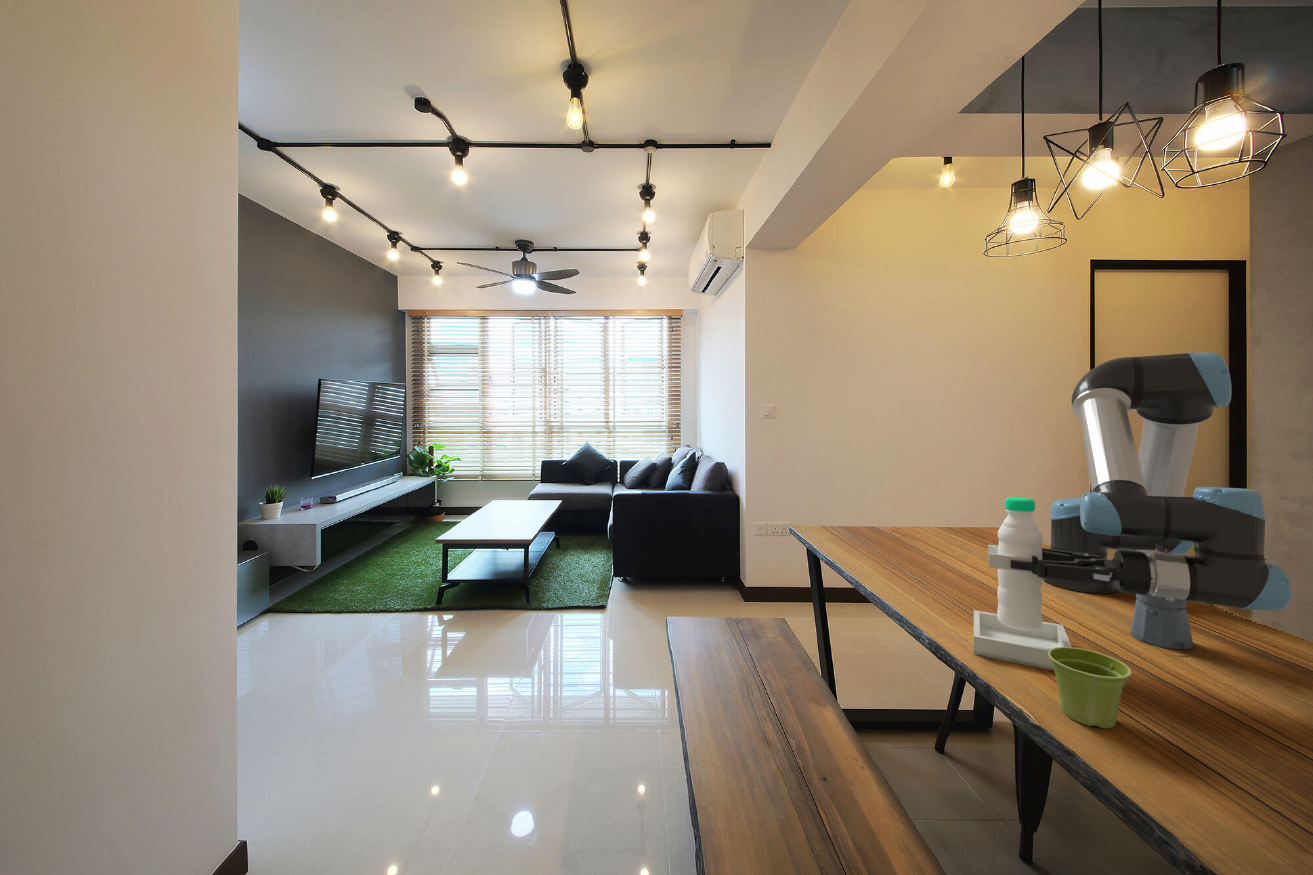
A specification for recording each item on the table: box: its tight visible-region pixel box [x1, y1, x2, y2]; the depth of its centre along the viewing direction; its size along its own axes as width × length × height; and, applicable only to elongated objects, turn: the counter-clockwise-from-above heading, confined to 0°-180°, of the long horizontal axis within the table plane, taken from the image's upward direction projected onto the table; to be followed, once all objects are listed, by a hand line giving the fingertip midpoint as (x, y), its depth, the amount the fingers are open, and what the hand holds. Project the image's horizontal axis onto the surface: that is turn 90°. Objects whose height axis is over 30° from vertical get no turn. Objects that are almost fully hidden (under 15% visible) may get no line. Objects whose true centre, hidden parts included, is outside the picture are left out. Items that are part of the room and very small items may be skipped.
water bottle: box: [996, 496, 1043, 631], centre depth 95 cm, size 7×7×25 cm
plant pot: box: [1048, 646, 1132, 729], centre depth 73 cm, size 9×9×9 cm
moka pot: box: [1130, 543, 1194, 650], centre depth 98 cm, size 10×15×20 cm, turn 137°
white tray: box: [973, 610, 1073, 672], centre depth 96 cm, size 15×15×4 cm
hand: (988, 555), depth 98 cm, fingers closed on water bottle, 7 cm apart
